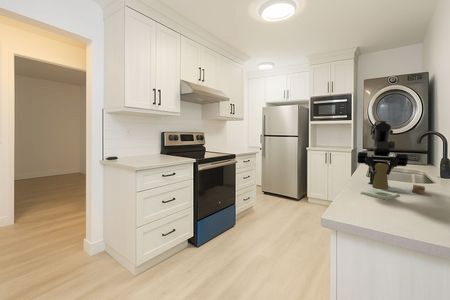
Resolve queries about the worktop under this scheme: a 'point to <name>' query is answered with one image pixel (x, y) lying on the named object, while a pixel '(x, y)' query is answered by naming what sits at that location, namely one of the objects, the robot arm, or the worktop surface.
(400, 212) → the worktop surface
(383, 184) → the cork
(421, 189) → the brick
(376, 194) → the baseplate
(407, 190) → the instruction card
